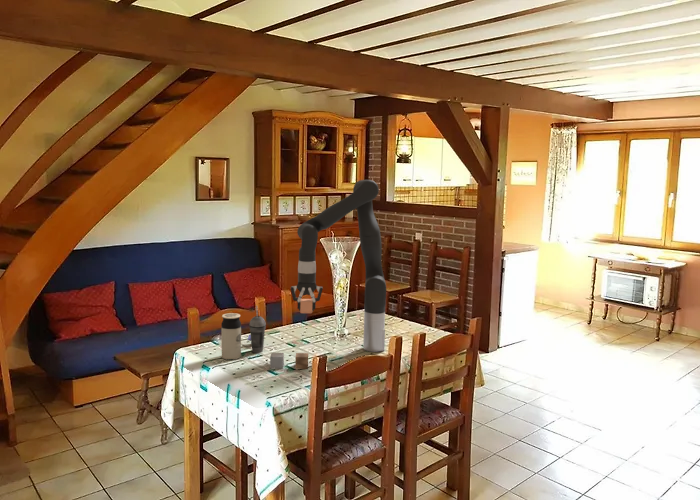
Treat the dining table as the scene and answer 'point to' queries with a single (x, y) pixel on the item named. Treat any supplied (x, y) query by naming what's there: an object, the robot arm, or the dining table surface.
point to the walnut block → (301, 361)
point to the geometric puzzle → (249, 337)
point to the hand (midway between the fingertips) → (306, 310)
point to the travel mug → (231, 336)
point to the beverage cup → (257, 333)
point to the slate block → (276, 360)
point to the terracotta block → (306, 306)
